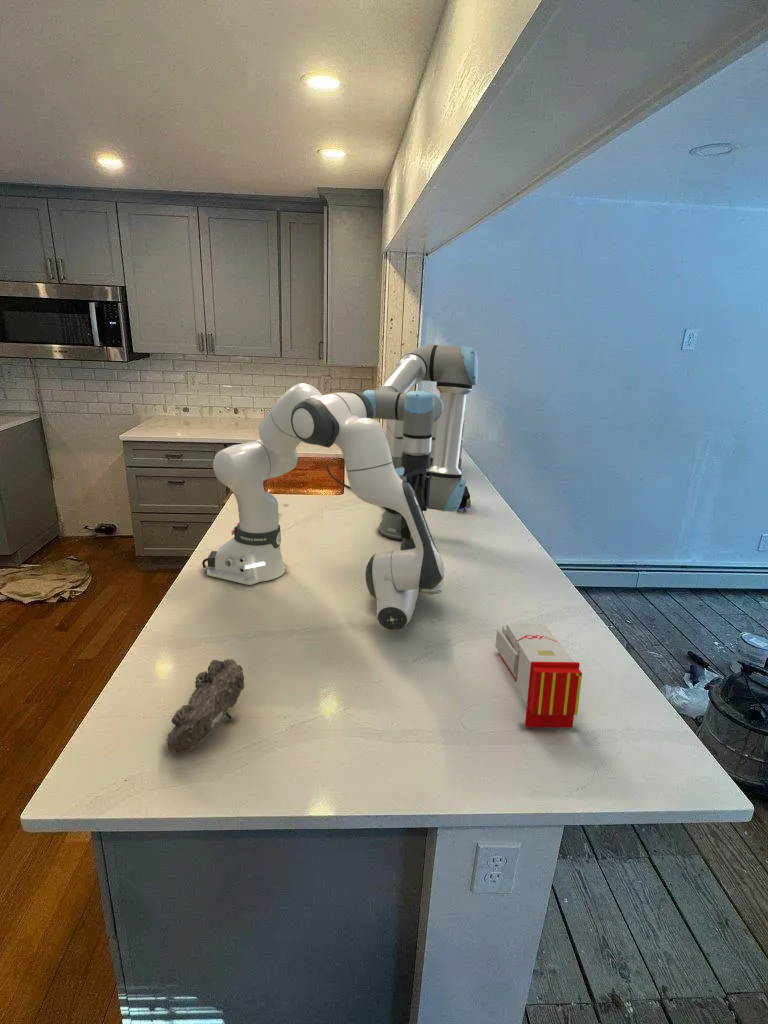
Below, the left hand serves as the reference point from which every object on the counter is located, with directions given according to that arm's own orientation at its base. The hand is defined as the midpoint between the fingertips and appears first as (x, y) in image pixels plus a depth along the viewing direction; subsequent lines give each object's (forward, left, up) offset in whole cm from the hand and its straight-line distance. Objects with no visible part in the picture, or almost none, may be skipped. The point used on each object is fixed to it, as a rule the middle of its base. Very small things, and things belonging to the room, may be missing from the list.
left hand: (409, 566), depth 159 cm
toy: (+32, -38, -7) cm, 50 cm away
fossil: (-29, -63, -7) cm, 69 cm away
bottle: (0, -1, -7) cm, 7 cm away
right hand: (0, -1, +10) cm, 10 cm away
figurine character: (+11, +74, -7) cm, 76 cm away
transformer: (-11, +120, -7) cm, 121 cm away
